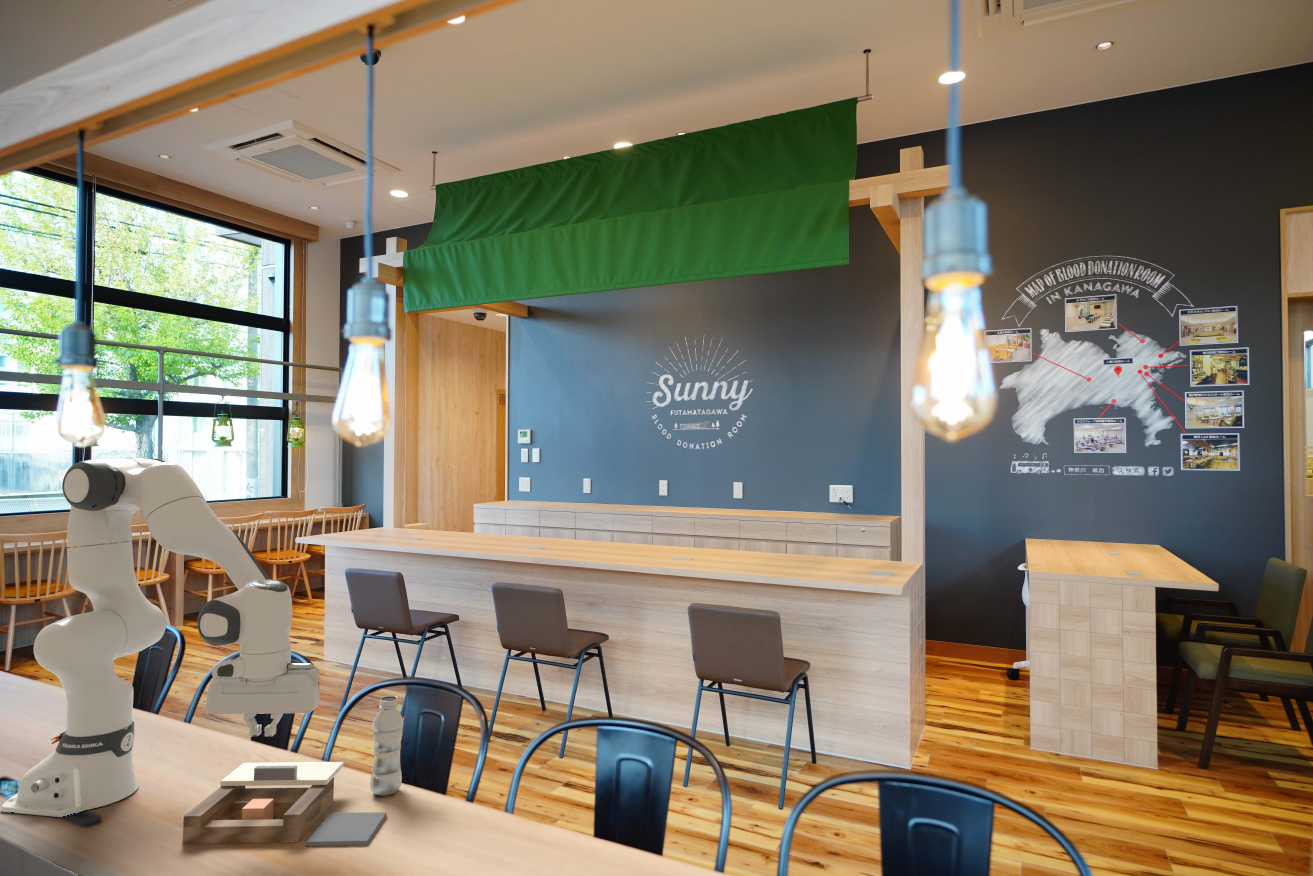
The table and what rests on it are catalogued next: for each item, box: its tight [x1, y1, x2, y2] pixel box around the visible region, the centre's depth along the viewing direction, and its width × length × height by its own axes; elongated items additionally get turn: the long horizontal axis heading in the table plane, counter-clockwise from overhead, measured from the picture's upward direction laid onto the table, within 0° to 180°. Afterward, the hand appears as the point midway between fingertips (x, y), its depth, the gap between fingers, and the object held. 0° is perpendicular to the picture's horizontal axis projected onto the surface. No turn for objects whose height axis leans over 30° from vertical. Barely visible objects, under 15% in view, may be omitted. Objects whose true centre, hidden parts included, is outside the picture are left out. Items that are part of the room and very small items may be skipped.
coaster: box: [306, 811, 388, 847], centre depth 136 cm, size 11×11×1 cm
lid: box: [219, 761, 345, 787], centre depth 147 cm, size 21×9×3 cm, turn 93°
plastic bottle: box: [369, 695, 404, 797], centre depth 152 cm, size 6×7×20 cm
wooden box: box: [182, 777, 335, 845], centre depth 139 cm, size 21×16×5 cm
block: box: [241, 799, 274, 820], centre depth 137 cm, size 4×4×4 cm
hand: (262, 735), depth 138 cm, fingers closed
